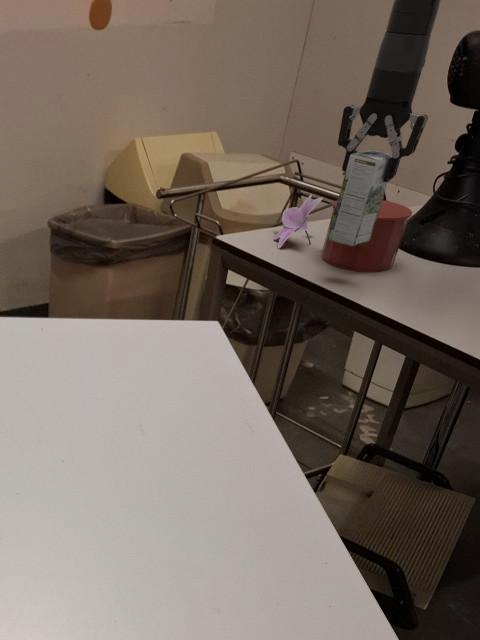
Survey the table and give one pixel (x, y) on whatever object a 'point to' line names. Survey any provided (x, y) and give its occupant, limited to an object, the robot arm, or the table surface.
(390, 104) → the robot arm
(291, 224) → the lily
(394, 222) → the pot
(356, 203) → the syrup box
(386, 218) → the pot lid
